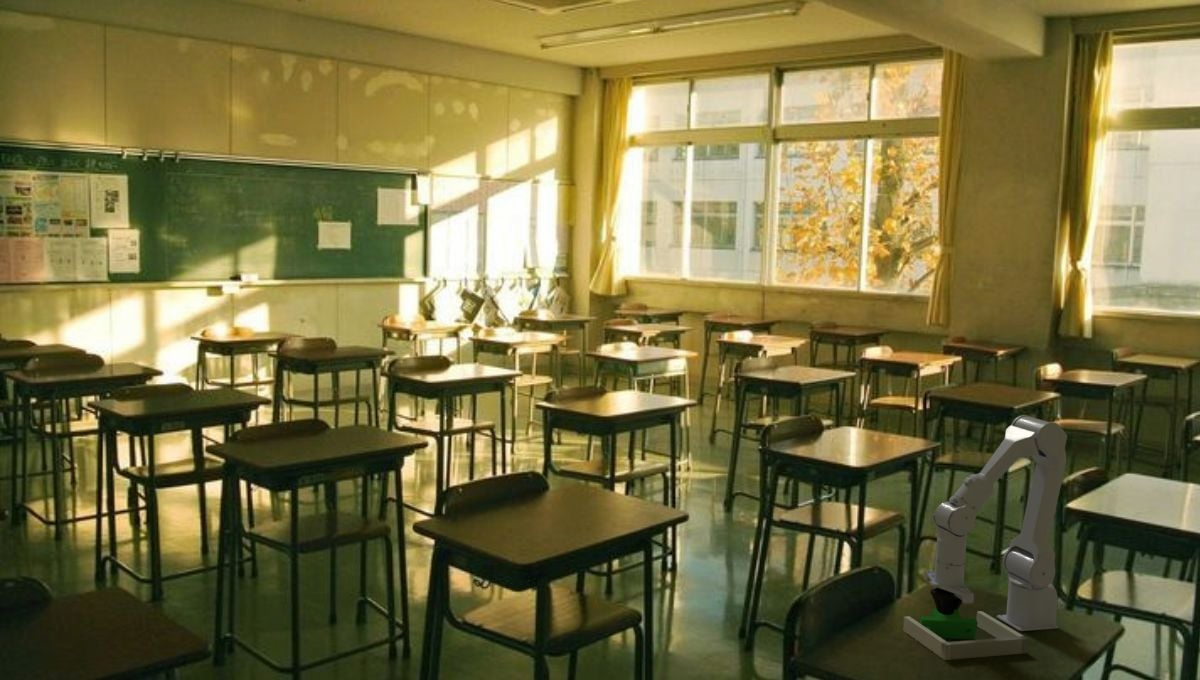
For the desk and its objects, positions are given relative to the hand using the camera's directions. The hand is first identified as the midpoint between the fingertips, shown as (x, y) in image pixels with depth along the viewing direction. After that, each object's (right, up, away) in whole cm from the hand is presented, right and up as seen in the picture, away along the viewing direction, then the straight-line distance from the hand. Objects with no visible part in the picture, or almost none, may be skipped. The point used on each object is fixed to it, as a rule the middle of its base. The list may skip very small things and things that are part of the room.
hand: (945, 624), depth 211 cm
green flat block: (-1, -1, -3) cm, 3 cm away
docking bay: (+2, -2, -6) cm, 6 cm away
